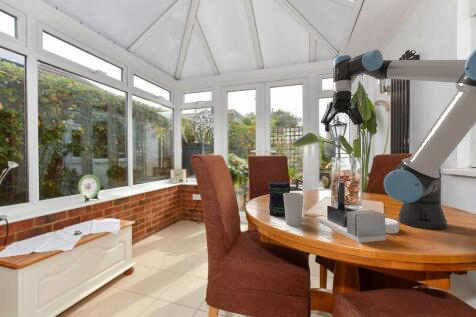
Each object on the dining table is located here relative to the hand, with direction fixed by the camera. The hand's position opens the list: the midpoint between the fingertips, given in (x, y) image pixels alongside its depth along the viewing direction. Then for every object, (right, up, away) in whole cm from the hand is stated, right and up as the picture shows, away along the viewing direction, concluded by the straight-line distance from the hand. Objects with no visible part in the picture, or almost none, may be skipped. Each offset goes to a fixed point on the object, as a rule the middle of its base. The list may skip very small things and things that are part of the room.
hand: (342, 139), depth 103 cm
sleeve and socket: (-7, -34, -20) cm, 40 cm away
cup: (-25, -35, -11) cm, 45 cm away
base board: (-7, -35, -18) cm, 40 cm away
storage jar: (-28, -35, +4) cm, 45 cm away
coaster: (+6, -35, -19) cm, 41 cm away
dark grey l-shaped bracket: (-6, -32, -21) cm, 39 cm away
